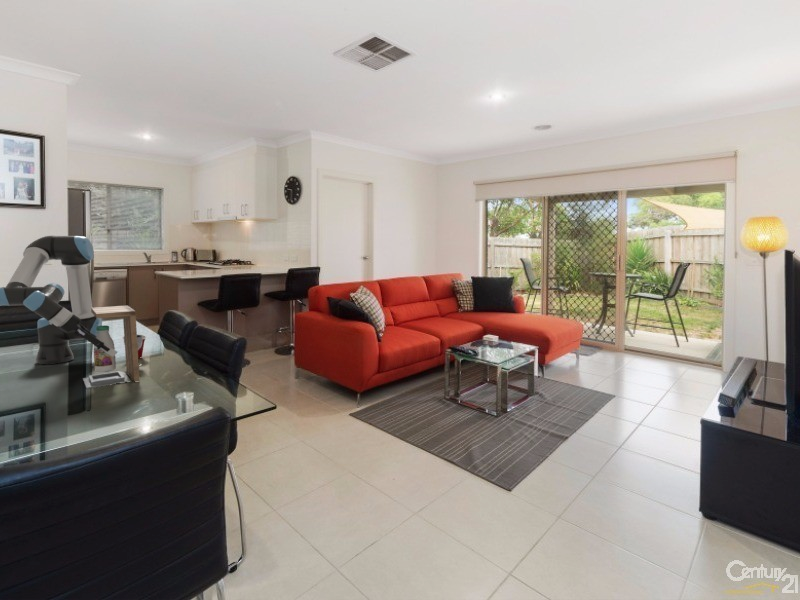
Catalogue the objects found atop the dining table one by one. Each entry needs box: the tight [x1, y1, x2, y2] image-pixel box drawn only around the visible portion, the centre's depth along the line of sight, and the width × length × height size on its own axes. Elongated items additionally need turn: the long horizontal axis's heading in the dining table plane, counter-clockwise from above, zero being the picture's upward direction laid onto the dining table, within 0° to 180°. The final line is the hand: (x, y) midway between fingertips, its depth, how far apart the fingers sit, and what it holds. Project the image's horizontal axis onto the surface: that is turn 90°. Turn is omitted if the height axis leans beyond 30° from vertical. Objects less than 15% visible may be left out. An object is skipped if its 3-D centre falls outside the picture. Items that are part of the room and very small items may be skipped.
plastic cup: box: [122, 334, 147, 359], centre depth 229 cm, size 11×11×12 cm
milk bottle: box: [93, 324, 117, 373], centre depth 191 cm, size 8×8×20 cm
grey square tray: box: [82, 370, 132, 390], centre depth 193 cm, size 16×16×2 cm
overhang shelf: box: [91, 305, 140, 382], centre depth 193 cm, size 20×14×32 cm
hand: (113, 352), depth 193 cm, fingers closed on milk bottle, 7 cm apart
